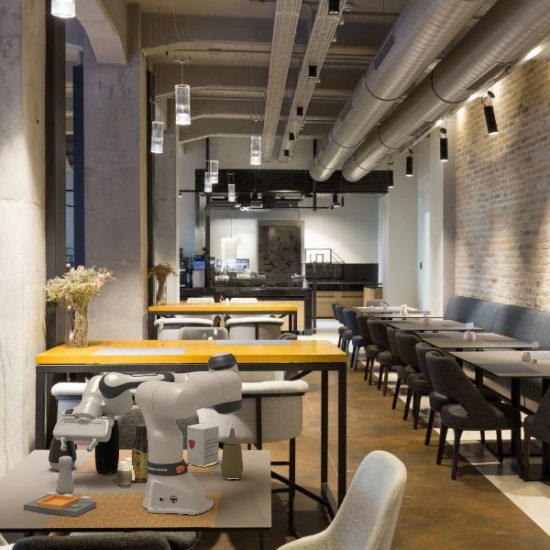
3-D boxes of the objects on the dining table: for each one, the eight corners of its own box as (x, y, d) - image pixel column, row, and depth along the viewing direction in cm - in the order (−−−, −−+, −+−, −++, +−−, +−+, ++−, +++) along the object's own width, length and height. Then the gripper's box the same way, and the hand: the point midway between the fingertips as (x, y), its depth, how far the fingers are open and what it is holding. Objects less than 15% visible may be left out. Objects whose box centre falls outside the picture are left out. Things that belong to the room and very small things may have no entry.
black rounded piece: (81, 467, 289) (82, 427, 289) (67, 473, 279) (68, 432, 279) (57, 465, 292) (58, 425, 292) (43, 471, 281) (43, 430, 282)
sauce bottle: (127, 480, 271) (128, 424, 271) (143, 477, 275) (143, 422, 275) (137, 484, 266) (137, 427, 266) (152, 481, 270) (153, 425, 270)
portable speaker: (104, 468, 287) (105, 416, 287) (124, 471, 282) (124, 419, 283) (89, 473, 279) (89, 420, 279) (108, 477, 275) (109, 422, 275)
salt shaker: (69, 499, 247) (69, 459, 247) (52, 498, 248) (53, 458, 248) (77, 494, 253) (77, 455, 253) (61, 493, 254) (61, 454, 254)
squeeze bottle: (216, 478, 275) (216, 428, 275) (233, 474, 280) (234, 425, 280) (230, 482, 269) (230, 431, 269) (247, 478, 274) (248, 428, 274)
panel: (96, 506, 239) (96, 497, 239) (75, 517, 229) (75, 507, 229) (46, 500, 246) (46, 490, 246) (23, 510, 235) (23, 500, 235)
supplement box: (186, 464, 294) (186, 425, 294) (201, 460, 301) (201, 422, 301) (203, 468, 289) (204, 428, 289) (219, 463, 296) (219, 425, 296)
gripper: (118, 422, 269) (107, 456, 260) (64, 420, 273) (51, 454, 264) (113, 411, 265) (101, 446, 255) (58, 410, 269) (45, 444, 259)
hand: (76, 450), depth 259 cm, fingers open, 8 cm apart
